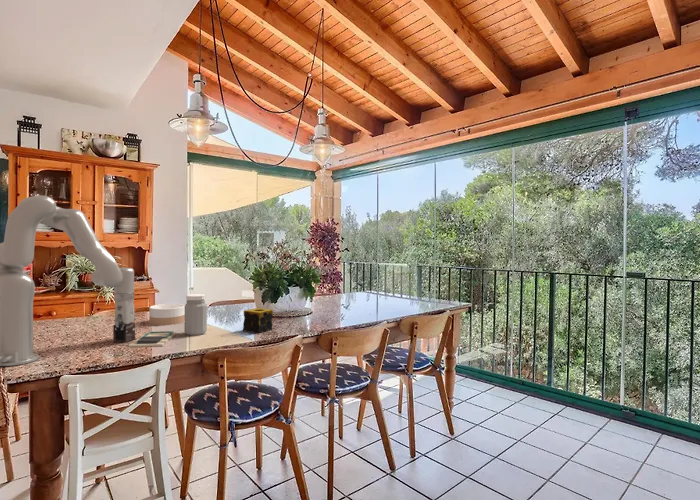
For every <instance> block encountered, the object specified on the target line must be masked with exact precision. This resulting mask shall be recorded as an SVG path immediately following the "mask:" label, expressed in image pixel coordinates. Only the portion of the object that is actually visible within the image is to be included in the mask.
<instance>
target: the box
mask: <svg viewBox="0 0 700 500" xmlns="http://www.w3.org/2000/svg"><path fill="white" fill-rule="evenodd" d="M121 327H122V325H121ZM112 329H113V331H112V332H113V333H112V337H113V339H112V340H113V341H112V342H113V343H123V344H125V343H129V342H133V341H135V340H136V323H135V322H133V323H129V324H125V325H124V329H123V330H124V339H123V340H116V330H115V324H113V328H112Z"/></svg>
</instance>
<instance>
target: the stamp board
mask: <svg viewBox="0 0 700 500" xmlns="http://www.w3.org/2000/svg"><path fill="white" fill-rule="evenodd" d="M176 335H177V331H174V330H173V331H172V330H171V331H170V330H169V331H166V330H165V331H161V330H160V331H148V332H145V333H144V334H142V335H141V336H139V337H138V338H137V339H135V340H133V341H131V343H129V344H128V348H141V347H142V348H144V347H145V348H146V347H164V346H165V345H166V344H167V343H168V342H169V341H170V340H171V339H172V338H173V337H175V336H176Z"/></svg>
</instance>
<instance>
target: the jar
mask: <svg viewBox="0 0 700 500" xmlns="http://www.w3.org/2000/svg"><path fill="white" fill-rule="evenodd" d="M185 297H186V299H185V300H186V301H185V302H186V303H185V304H184V305H185V322H184V332H183V333H184V334H186V335H187V336H200V335H201V336H202V335H204V334H206V332H207V330H208V329H207V328H208V325H207V324H208V319H207V318H208V312H207V311H208V306H207V305H208V304H207V302H206V294H204V293H190V294H186V295H185Z"/></svg>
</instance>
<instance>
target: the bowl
mask: <svg viewBox="0 0 700 500" xmlns="http://www.w3.org/2000/svg"><path fill="white" fill-rule="evenodd" d="M185 305H186V304H182V303H164V304H163V303H161V304H155V305H151V306H149V308H148V309H149V313H148V314H149V315H148V316H149V317H148V318H149V321H148V322H149V324H150V325H152V326H170V325H171V326H172V324H173V325H178V324H182V322H183V323H185V322H184V321H185Z"/></svg>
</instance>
